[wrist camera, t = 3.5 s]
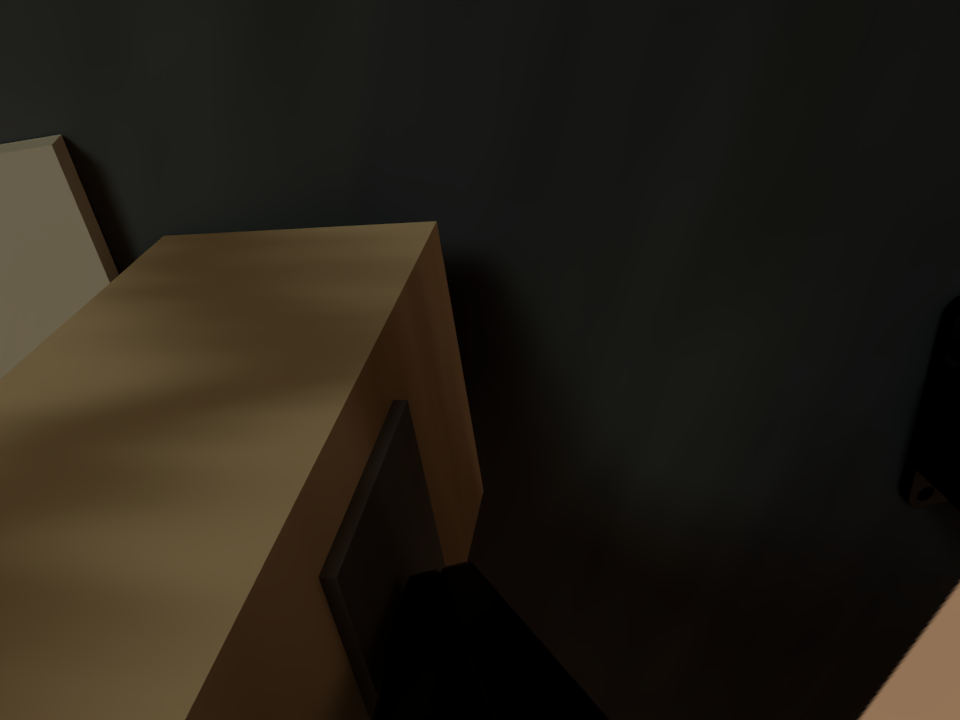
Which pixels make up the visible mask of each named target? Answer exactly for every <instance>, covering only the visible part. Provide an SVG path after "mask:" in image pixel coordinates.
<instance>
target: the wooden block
mask: <svg viewBox="0 0 960 720" xmlns="http://www.w3.org/2000/svg"><path fill="white" fill-rule="evenodd" d="M482 495H483V485H482V479H481V473H480V468H479V462H478V456H477V450H476V445H475V439H474V433H473V427H472V422H471V416H470V410H469V404H468V399H467V393H466V387H465V381H464V376H463V370H462V364H461V358H460V353H459V347H458V341H457V335H456V330H455V324H454V318H453V312H452V307H451V301H450V295H449V290H448V284H447V278H446V272H445V267H444V261H443V255H442V249H441V244H440V238H439V232H438V226H437V221H433V222H415V223H396V224H377V225H359V226H340V227H322V228H303V229H284V230H266V231H247V232H228V233H210V234H191V235H173V236H163V237H162V238H161V239H160V240H159V241H157V242H156V243H155V244H154V245H153V246H152V247H151V248H149V249H148V250H147V251H146V252H145V253H144V254H143V255H141V256H140V257H139V258H138V259H137V260H136V261H135V262H133V263H132V264H131V265H130V266H129V267H128V268H127V269H125V270H124V271H123V272H122V273H121V274H120V275H119V276H117V277H116V278H115V279H114V280H113V281H112V282H111V283H109V284H108V285H107V286H106V287H105V288H104V289H103V290H101V291H100V292H99V293H98V294H97V295H96V296H95V297H93V298H92V299H91V300H90V301H89V302H88V303H87V304H85V305H84V306H83V307H82V308H81V309H80V310H79V311H77V312H76V313H75V314H74V315H73V316H72V317H71V318H69V319H68V320H67V321H66V322H65V323H64V324H63V325H61V326H60V327H59V328H58V329H57V330H56V331H55V332H53V333H52V334H51V335H50V336H49V337H48V338H47V339H45V340H44V341H43V342H42V343H41V344H40V345H39V346H37V347H36V348H35V349H34V350H33V351H32V352H31V353H29V354H28V355H27V356H26V357H25V358H24V359H23V360H21V361H20V362H19V363H18V364H17V365H16V366H14V367H13V368H12V369H11V370H10V371H9V372H8V373H6V374H5V375H4V376H3V377H2V378H1V379H0V720H370V719H371V715H372V711H373V708H374V704H375V700H376V696H377V693H378V689H379V685H380V681H381V677H382V674H383V670H384V666H385V662H386V658H387V655H388V651H389V647H390V643H391V640H392V636H393V632H394V628H395V624H396V621H397V617H398V613H399V609H400V605H401V602H402V598H403V594H404V590H405V587H406V583H407V580H408V578H409V577H410V576H411V575H413V574H417V573H421V572H425V571H429V570H433V569H436V570H438V571H439V572H440V574H441V570H442V568H443V567H446V566H450V565H454V564H458V563H462V562H467V560H468V555H469V551H470V547H471V542H472V538H473V534H474V529H475V525H476V521H477V517H478V512H479V508H480V504H481V499H482Z"/></svg>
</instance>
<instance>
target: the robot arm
mask: <svg viewBox="0 0 960 720" xmlns="http://www.w3.org/2000/svg"><path fill="white" fill-rule="evenodd" d="M899 493H900V495H901V496H902V497H903V498H904V499H905V500H906V501H907V502H908V503H909V504H910V505H911V506H912V507H915V508H919V507H925V506H929V505H933V504H937V503H941V502H945V501H950V502H951V503H952V504H953V505H954V506H955V507H956V508H957V509H958V510H959V511H960V295H959V296H958V297H956V298H955V299H954V300H952V301H951V302H950V303H949V305H948V306H947V307H946V309H945V311H944V313H943V315H942V319H941V323H940V327H939V331H938V335H937V339H936V343H935V347H934V351H933V355H932V359H931V363H930V367H929V371H928V375H927V379H926V383H925V387H924V391H923V395H922V399H921V403H920V407H919V411H918V415H917V419H916V423H915V427H914V431H913V435H912V439H911V443H910V447H909V451H908V455H907V459H906V463H905V467H904V471H903V475H902V479H901V483H900V487H899ZM370 720H609V719H608V718H607V717H606V716H605V714H604V713H603V712H602V711H601V710H600V709H599V708H598V706H597V705H596V704H595V703H594V702H593V701H592V699H591V698H590V697H589V696H588V695H587V694H586V693H585V691H584V690H583V689H582V688H581V687H580V686H579V685H578V683H577V682H576V681H575V680H574V679H573V678H572V677H571V675H570V674H569V673H568V672H567V671H566V670H565V669H564V667H563V666H562V665H561V664H560V663H559V662H558V661H557V659H556V658H555V657H554V656H553V655H552V654H551V653H550V651H549V650H548V649H547V648H546V647H545V646H544V644H543V643H542V642H541V641H540V640H539V639H538V638H537V636H536V635H535V634H534V633H533V632H532V631H531V630H530V628H529V627H528V626H527V625H526V624H525V623H524V622H523V620H522V619H521V618H520V617H519V616H518V615H517V614H516V612H515V611H514V610H513V609H512V608H511V607H510V606H509V604H508V603H507V602H506V601H505V600H504V599H503V597H502V596H501V595H500V594H499V593H498V592H497V591H496V589H495V588H494V587H493V586H492V585H491V584H490V583H489V581H488V580H487V579H486V578H485V577H484V576H483V575H482V573H481V572H480V571H479V570H478V569H477V568H476V567H475V566H474V565H473V564H472V563H471V562H462V563H458V564H454V565H450V566H446V567H443V568H442V570H441V574H440V572H439V571H438V570H436V569H433V570H429V571H425V572H421V573H417V574H413V575H411V576H410V577H409V578H408V580H407V583H406V587H405V590H404V594H403V598H402V602H401V605H400V609H399V613H398V617H397V621H396V624H395V628H394V632H393V636H392V640H391V643H390V647H389V651H388V655H387V658H386V662H385V666H384V670H383V674H382V677H381V681H380V685H379V689H378V693H377V696H376V700H375V704H374V708H373V711H372V715H371V719H370Z"/></svg>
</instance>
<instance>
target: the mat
mask: <svg viewBox="0 0 960 720" xmlns="http://www.w3.org/2000/svg"><path fill="white" fill-rule="evenodd" d="M117 276H119V273H118V271H117V269H116V266H115V264H114V261H113V259H112V256H111V254H110V252H109V249H108V247H107V244H106V242H105V239H104V237H103V235H102V232H101V230H100V227H99V225H98V223H97V220H96V218H95V215H94V213H93V210H92V208H91V206H90V203H89V201H88V198H87V196H86V193H85V191H84V189H83V186H82V184H81V181H80V179H79V176H78V174H77V172H76V169H75V167H74V164H73V162H72V159H71V157H70V155H69V152H68V150H67V147H66V145H65V142H64V140H63V138H62V135H61V134H60V135H54V136H48V137H42V138H36V139H30V140H24V141H18V142H12V143H6V144H0V379H1V378H2V377H3V376H4V375H5V374H6V373H8V372H9V371H10V370H11V369H12V368H13V367H14V366H16V365H17V364H18V363H19V362H20V361H21V360H23V359H24V358H25V357H26V356H27V355H28V354H29V353H31V352H32V351H33V350H34V349H35V348H36V347H37V346H39V345H40V344H41V343H42V342H43V341H44V340H45V339H47V338H48V337H49V336H50V335H51V334H52V333H53V332H55V331H56V330H57V329H58V328H59V327H60V326H61V325H63V324H64V323H65V322H66V321H67V320H68V319H69V318H71V317H72V316H73V315H74V314H75V313H76V312H77V311H79V310H80V309H81V308H82V307H83V306H84V305H85V304H87V303H88V302H89V301H90V300H91V299H92V298H93V297H95V296H96V295H97V294H98V293H99V292H100V291H101V290H103V289H104V288H105V287H106V286H107V285H108V284H109V283H111V282H112V281H113V280H114V279H115V278H116V277H117Z"/></svg>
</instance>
